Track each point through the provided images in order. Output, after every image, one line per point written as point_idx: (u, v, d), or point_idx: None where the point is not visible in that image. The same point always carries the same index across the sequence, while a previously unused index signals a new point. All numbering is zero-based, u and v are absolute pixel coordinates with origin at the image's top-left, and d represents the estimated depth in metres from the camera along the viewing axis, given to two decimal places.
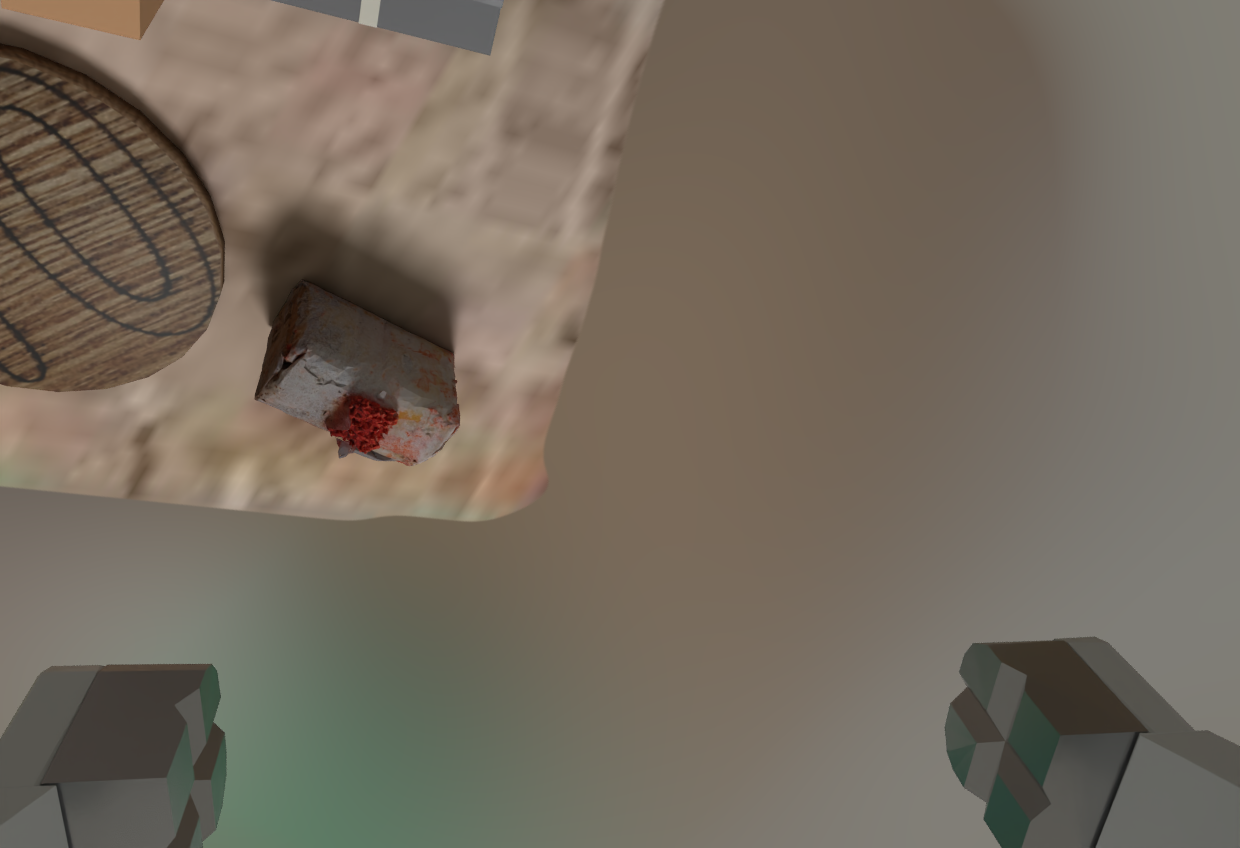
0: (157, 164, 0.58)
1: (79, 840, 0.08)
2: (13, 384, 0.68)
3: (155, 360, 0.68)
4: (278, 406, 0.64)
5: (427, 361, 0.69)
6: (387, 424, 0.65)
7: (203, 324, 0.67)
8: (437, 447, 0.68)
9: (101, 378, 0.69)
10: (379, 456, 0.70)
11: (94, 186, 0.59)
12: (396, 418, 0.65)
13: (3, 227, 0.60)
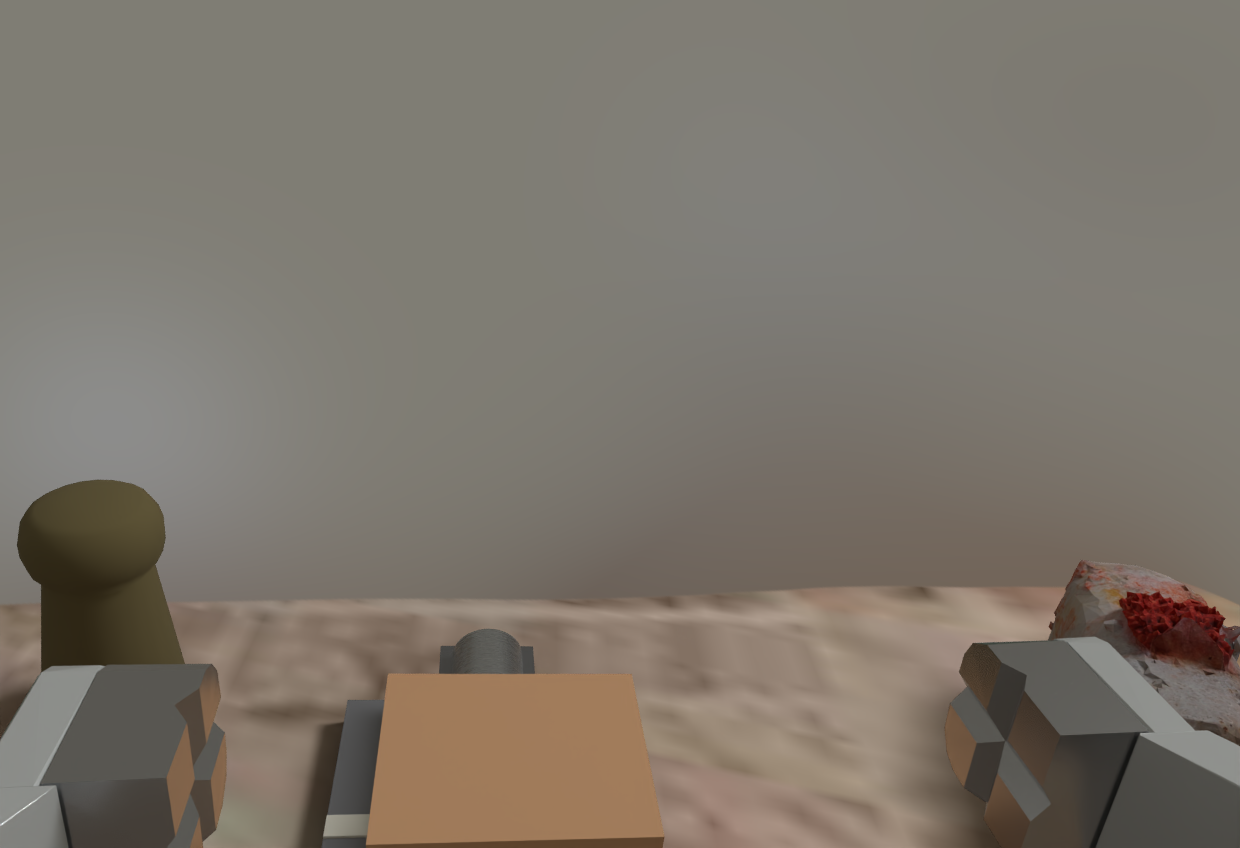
0: None
1: (79, 840, 0.08)
2: None
3: None
4: None
5: None
6: (1143, 595, 0.43)
7: None
8: (1135, 567, 0.48)
9: None
10: None
11: None
12: (1127, 594, 0.44)
13: None
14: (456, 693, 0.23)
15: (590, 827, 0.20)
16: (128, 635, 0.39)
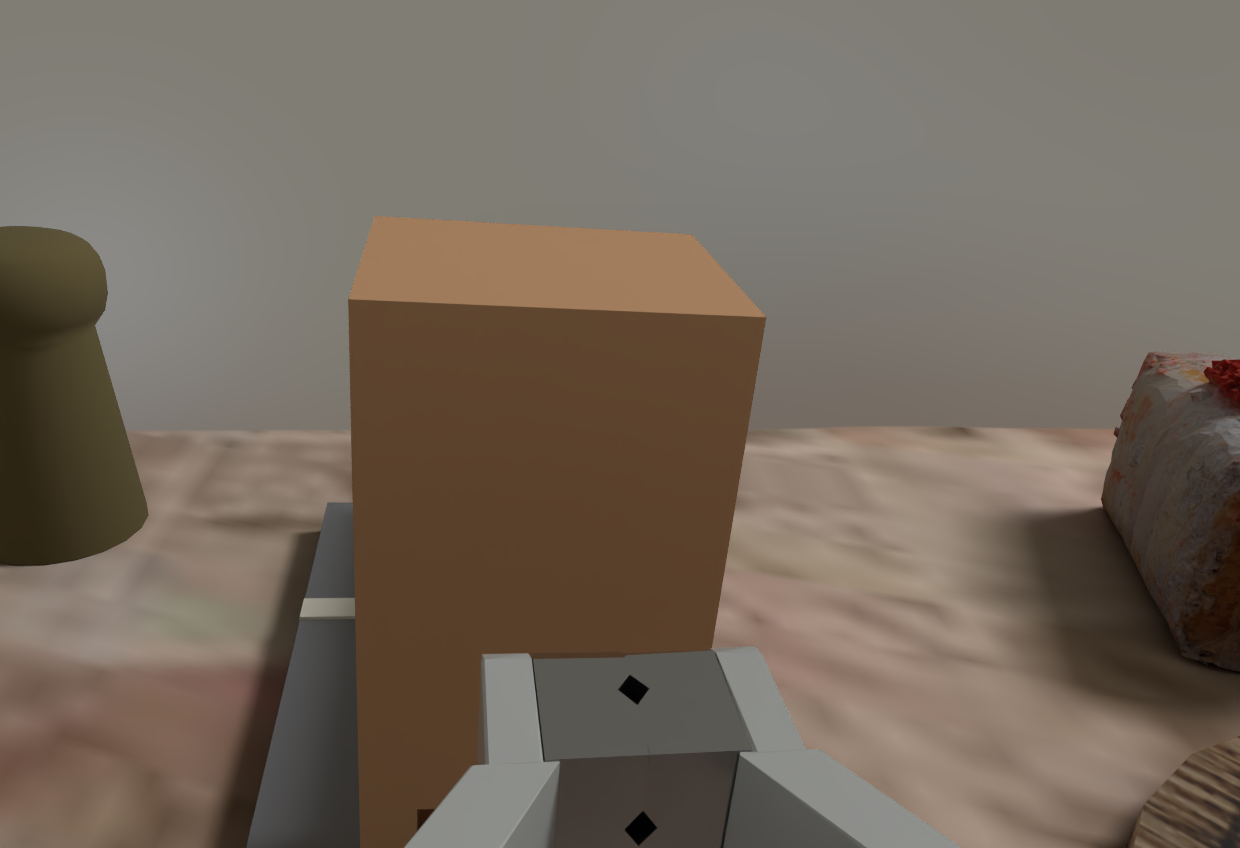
0: (1178, 837, 0.25)
1: (565, 812, 0.09)
2: None
3: None
4: None
5: (1121, 460, 0.42)
6: (1232, 361, 0.38)
7: None
8: (1211, 354, 0.42)
9: None
10: None
11: None
12: (1212, 365, 0.39)
13: None
14: (466, 230, 0.17)
15: (663, 306, 0.14)
16: (64, 403, 0.33)
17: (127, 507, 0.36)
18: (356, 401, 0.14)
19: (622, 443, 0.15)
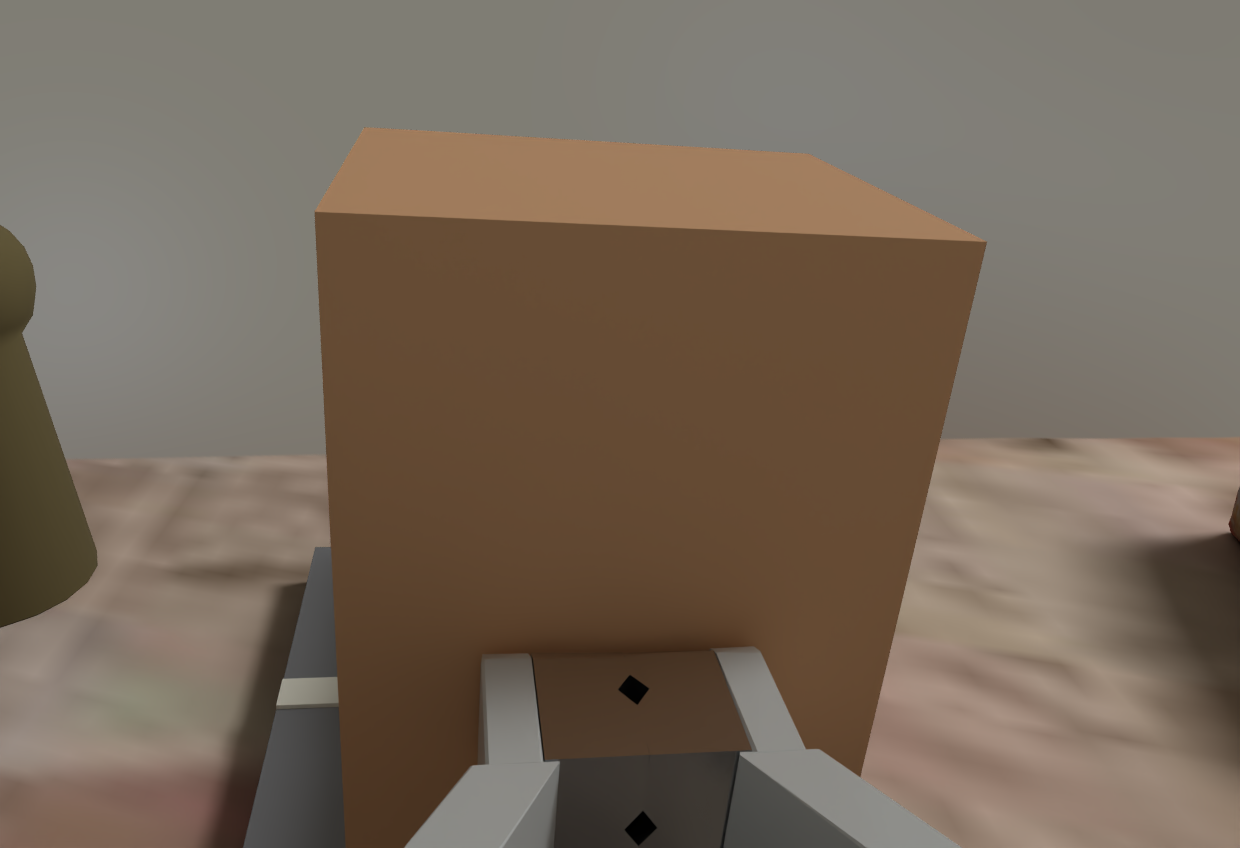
0: None
1: (565, 812, 0.09)
2: None
3: None
4: None
5: None
6: None
7: None
8: None
9: None
10: None
11: None
12: None
13: None
14: (496, 142, 0.12)
15: (823, 227, 0.09)
16: None
17: (68, 558, 0.29)
18: (333, 385, 0.09)
19: (753, 447, 0.09)
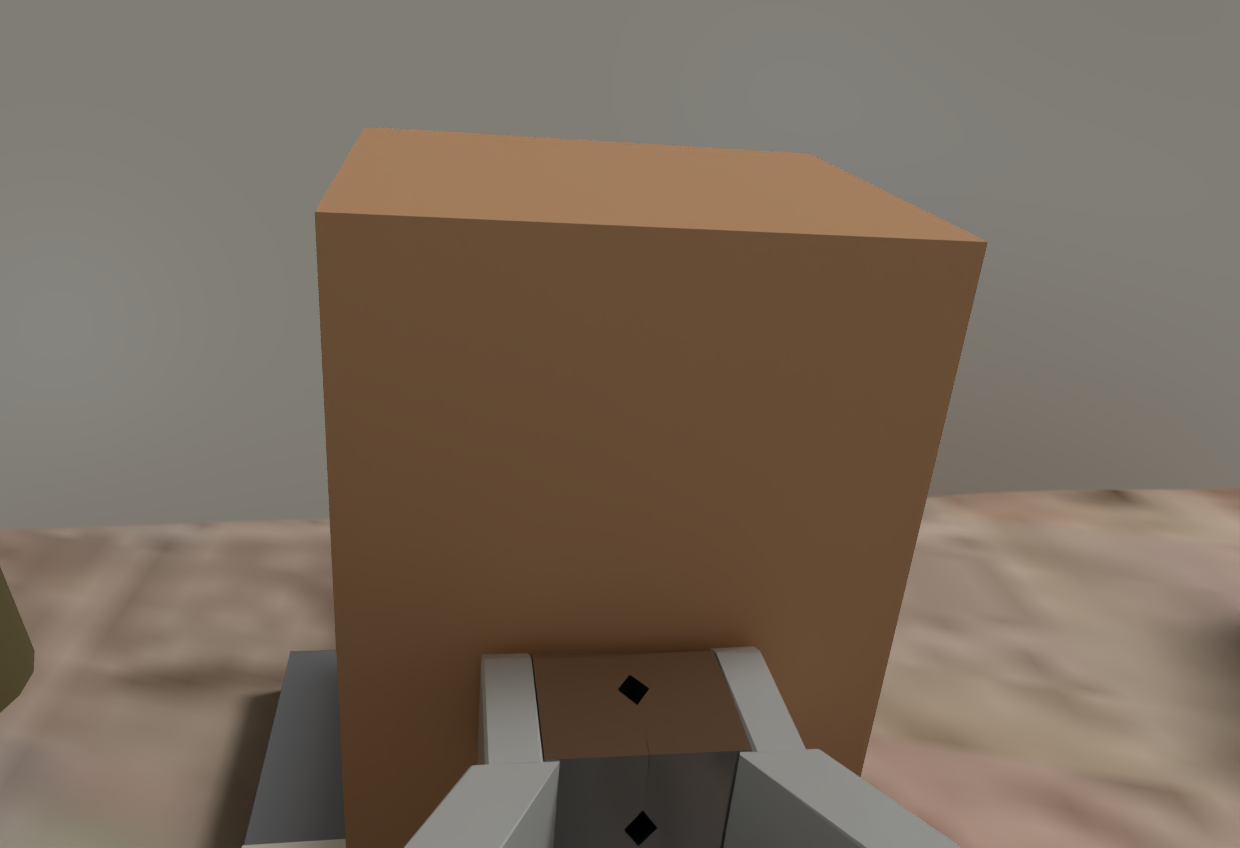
0: None
1: (565, 812, 0.09)
2: None
3: None
4: None
5: None
6: None
7: None
8: None
9: None
10: None
11: None
12: None
13: None
14: (496, 142, 0.12)
15: (823, 227, 0.09)
16: None
17: None
18: (332, 385, 0.09)
19: (753, 447, 0.09)
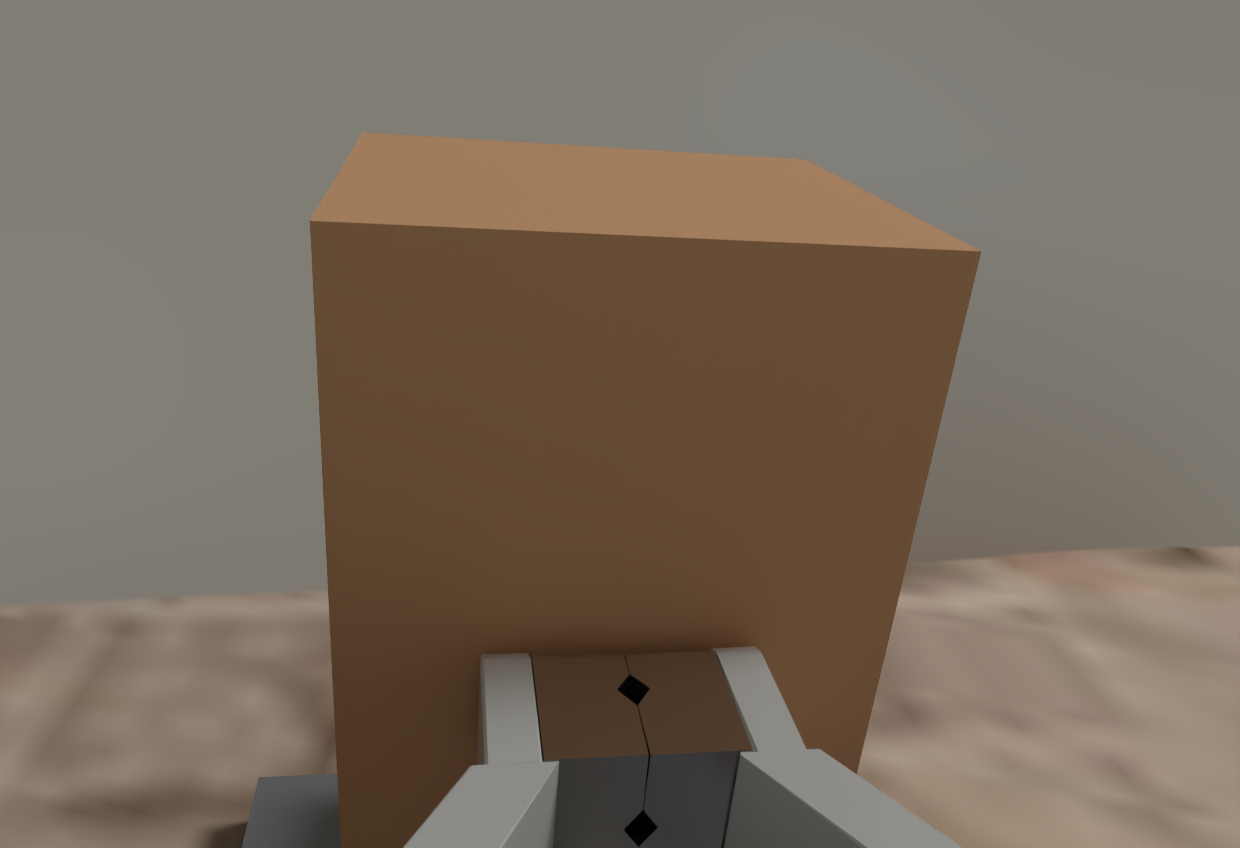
0: None
1: (564, 812, 0.09)
2: None
3: None
4: None
5: None
6: None
7: None
8: None
9: None
10: None
11: None
12: None
13: None
14: (494, 148, 0.12)
15: (816, 236, 0.09)
16: None
17: None
18: (328, 393, 0.09)
19: (747, 455, 0.10)
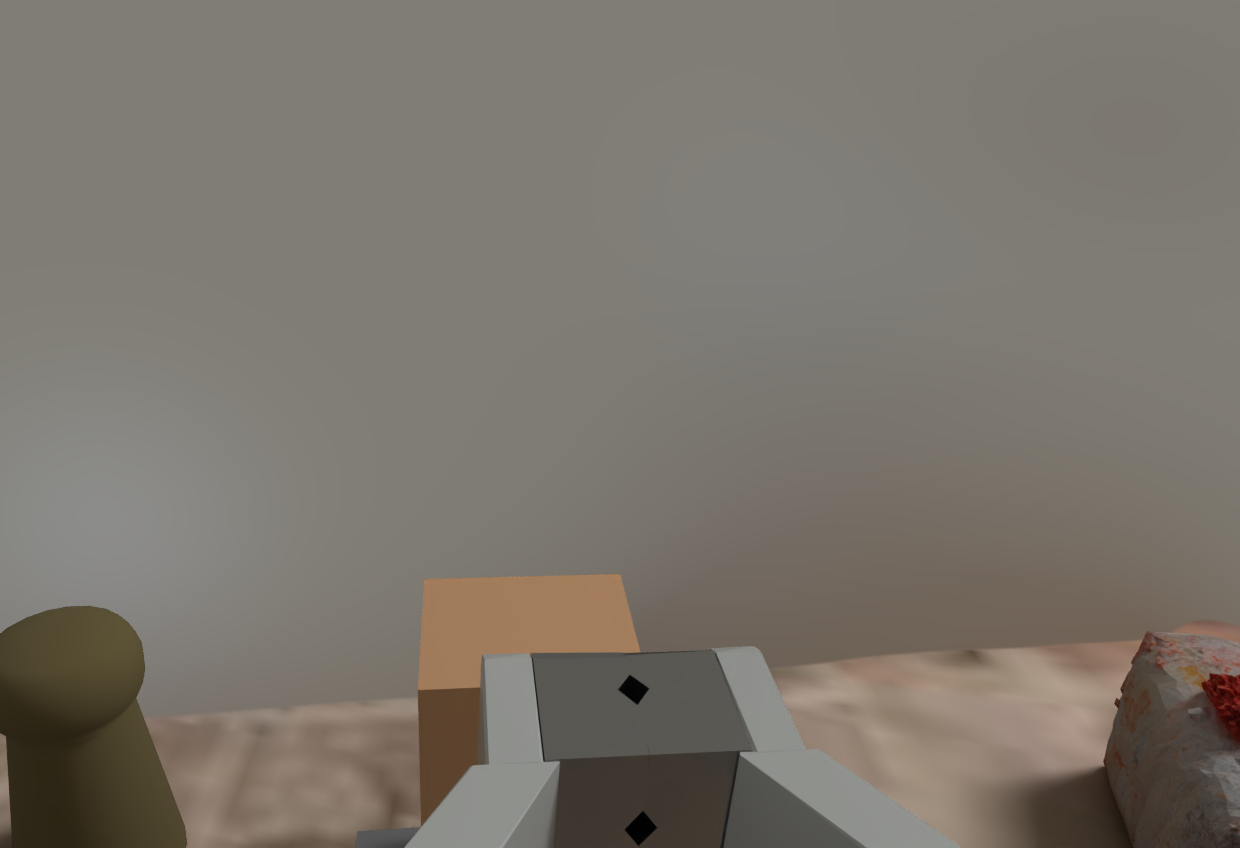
0: None
1: (564, 812, 0.09)
2: None
3: None
4: None
5: (1122, 744, 0.43)
6: (1229, 677, 0.39)
7: None
8: (1208, 636, 0.43)
9: None
10: None
11: None
12: (1210, 676, 0.39)
13: None
14: (480, 590, 0.29)
15: None
16: (107, 783, 0.34)
17: None
18: (422, 736, 0.25)
19: None
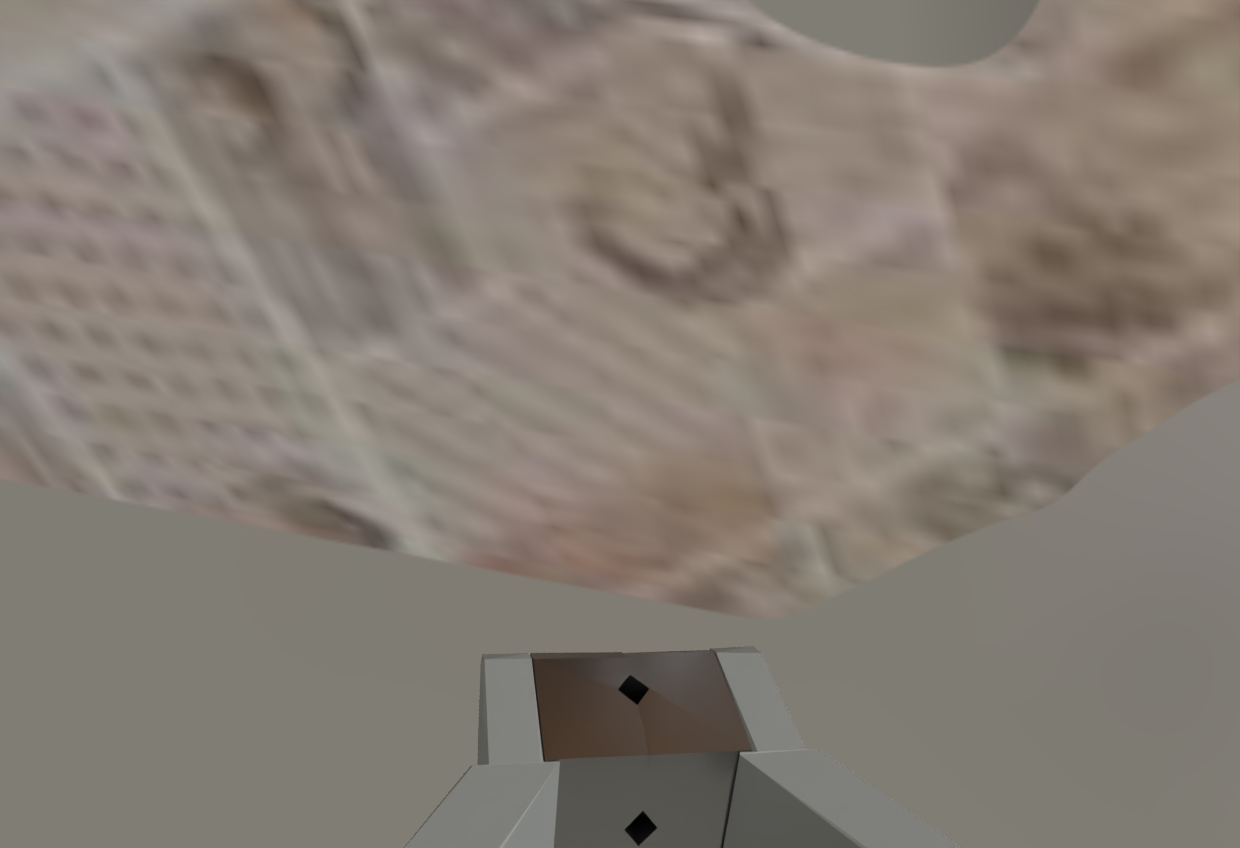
0: None
1: (565, 812, 0.09)
2: None
3: None
4: None
5: None
6: None
7: None
8: None
9: None
10: None
11: None
12: None
13: None
14: None
15: None
16: None
17: None
18: None
19: None
